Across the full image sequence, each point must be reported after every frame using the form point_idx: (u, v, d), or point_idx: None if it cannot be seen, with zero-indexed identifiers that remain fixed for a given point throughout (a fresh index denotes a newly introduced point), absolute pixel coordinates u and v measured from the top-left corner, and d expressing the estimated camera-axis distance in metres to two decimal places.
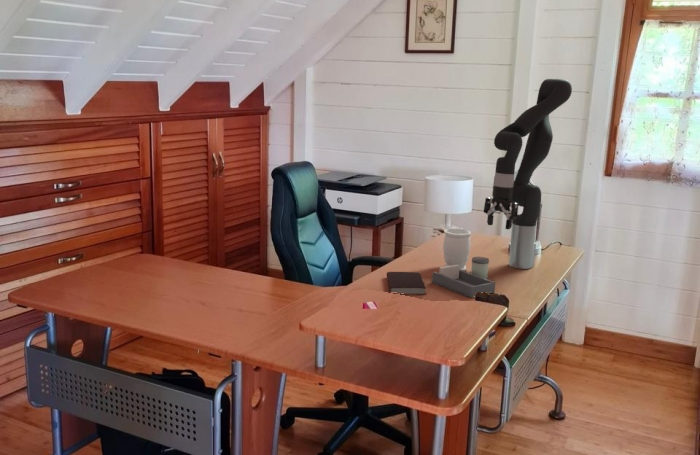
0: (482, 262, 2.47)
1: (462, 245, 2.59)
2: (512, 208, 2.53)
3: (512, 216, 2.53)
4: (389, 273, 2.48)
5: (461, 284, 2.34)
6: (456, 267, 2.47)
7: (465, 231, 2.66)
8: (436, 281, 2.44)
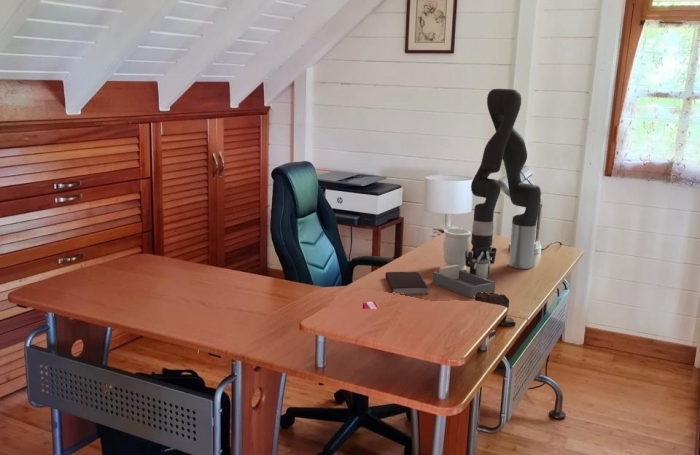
0: (482, 262, 2.47)
1: (462, 245, 2.59)
2: (494, 253, 2.51)
3: (493, 261, 2.52)
4: (388, 273, 2.48)
5: (461, 284, 2.34)
6: (456, 267, 2.47)
7: (465, 231, 2.66)
8: (436, 281, 2.44)
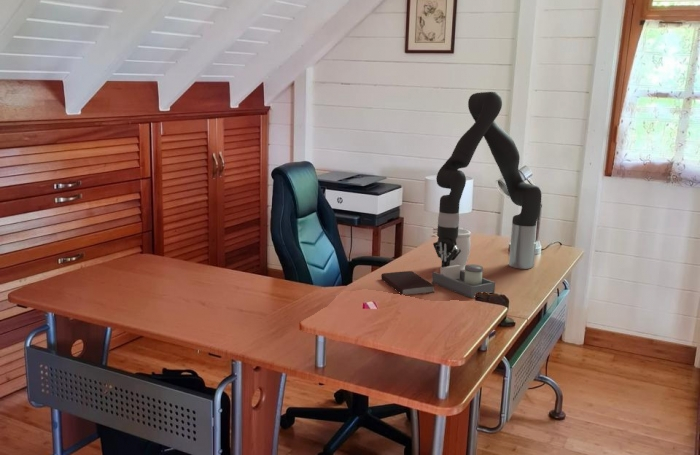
0: None
1: (462, 245, 2.59)
2: None
3: None
4: (385, 275, 2.46)
5: (461, 284, 2.34)
6: (457, 267, 2.47)
7: (465, 231, 2.66)
8: (436, 281, 2.44)
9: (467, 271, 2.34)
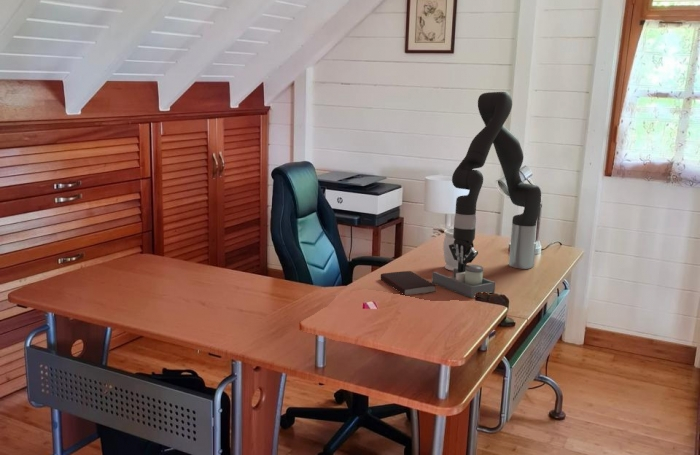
0: None
1: None
2: None
3: None
4: (385, 275, 2.46)
5: (461, 284, 2.34)
6: None
7: None
8: (436, 281, 2.44)
9: (467, 271, 2.34)
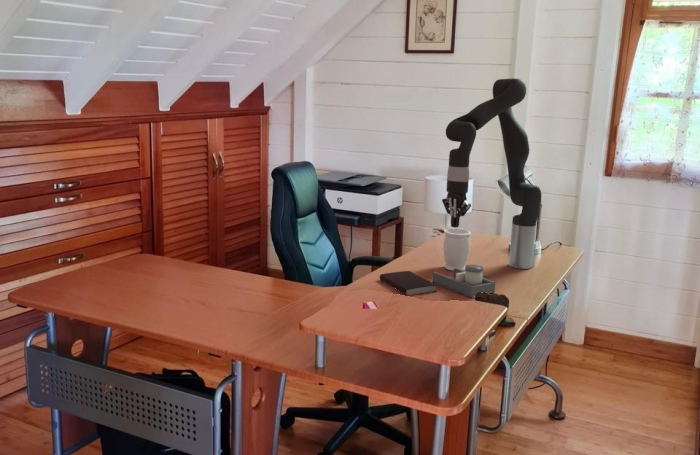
0: None
1: (462, 245, 2.59)
2: None
3: None
4: (385, 275, 2.46)
5: (461, 284, 2.34)
6: None
7: (465, 231, 2.66)
8: (436, 281, 2.44)
9: (467, 271, 2.34)
